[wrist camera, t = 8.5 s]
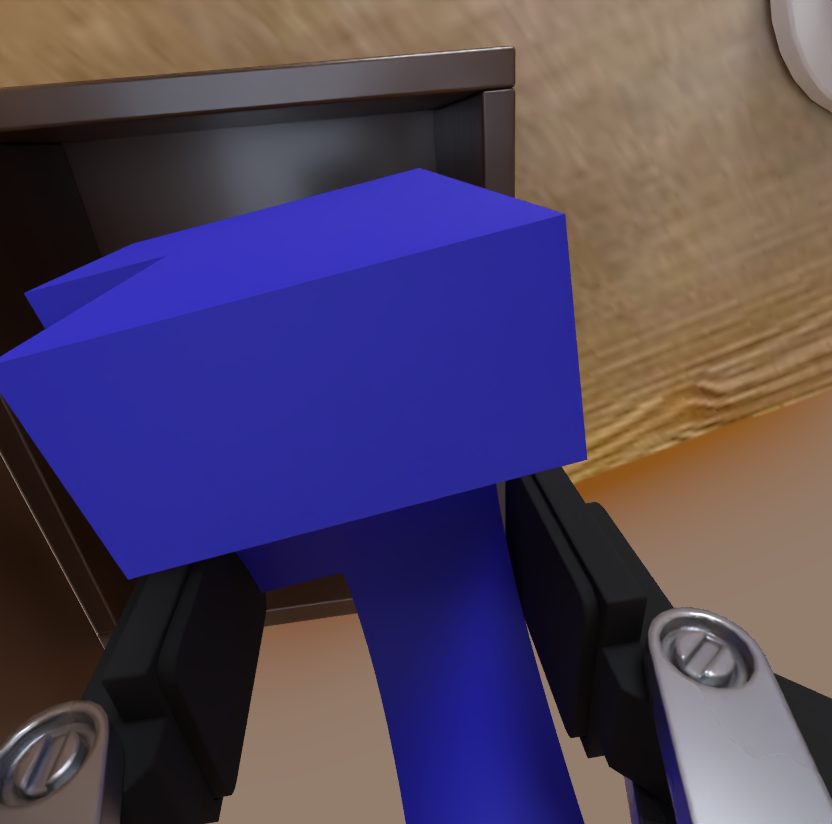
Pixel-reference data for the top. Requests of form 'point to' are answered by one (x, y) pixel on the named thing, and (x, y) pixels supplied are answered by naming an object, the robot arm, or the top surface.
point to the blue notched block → (340, 441)
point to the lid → (37, 620)
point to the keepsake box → (215, 208)
